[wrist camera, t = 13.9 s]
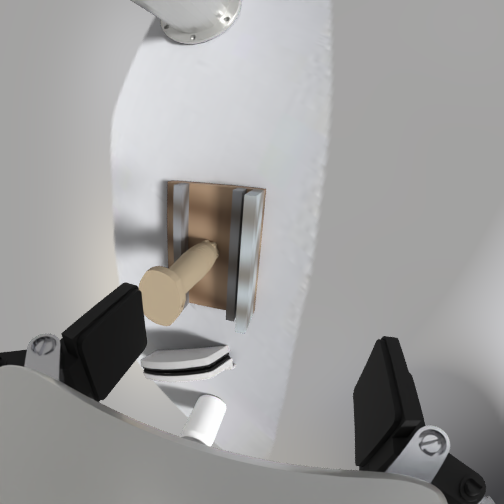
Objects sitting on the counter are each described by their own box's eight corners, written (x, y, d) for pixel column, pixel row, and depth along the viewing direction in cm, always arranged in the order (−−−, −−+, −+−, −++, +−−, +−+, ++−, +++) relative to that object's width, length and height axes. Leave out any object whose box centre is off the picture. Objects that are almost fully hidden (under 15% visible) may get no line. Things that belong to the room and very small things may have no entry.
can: (195, 402, 57) (174, 442, 46) (204, 389, 54) (183, 431, 43) (220, 415, 57) (203, 456, 46) (231, 403, 54) (214, 446, 43)
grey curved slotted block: (165, 369, 55) (136, 386, 45) (160, 348, 55) (129, 362, 46) (237, 366, 50) (215, 388, 40) (232, 342, 50) (208, 361, 41)
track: (172, 180, 40) (149, 186, 34) (266, 188, 38) (256, 196, 32) (173, 294, 47) (155, 313, 41) (254, 310, 45) (244, 334, 39)
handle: (191, 263, 43) (137, 314, 29) (198, 224, 40) (140, 263, 26) (220, 274, 42) (176, 332, 28) (230, 234, 40) (183, 280, 26)
